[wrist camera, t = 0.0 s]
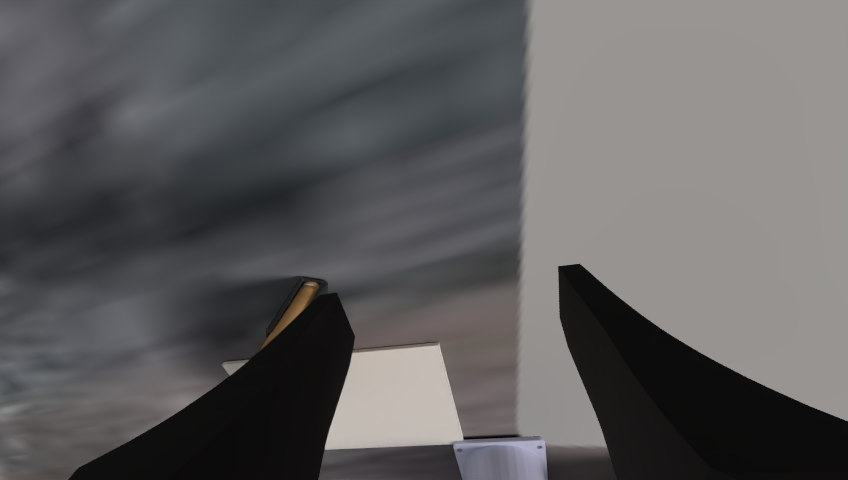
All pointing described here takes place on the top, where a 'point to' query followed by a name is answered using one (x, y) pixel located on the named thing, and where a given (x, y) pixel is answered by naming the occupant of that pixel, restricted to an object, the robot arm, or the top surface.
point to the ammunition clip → (295, 305)
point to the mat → (392, 399)
